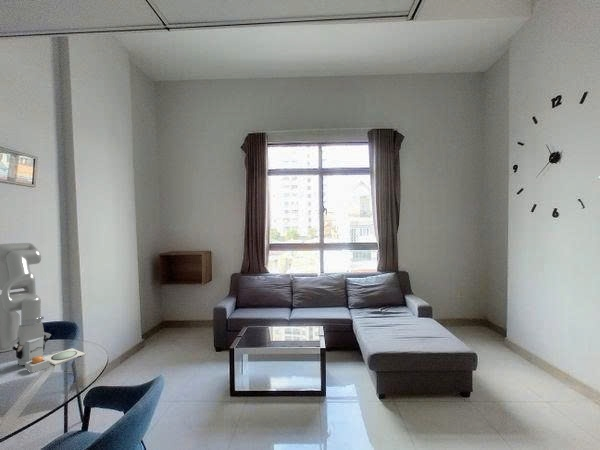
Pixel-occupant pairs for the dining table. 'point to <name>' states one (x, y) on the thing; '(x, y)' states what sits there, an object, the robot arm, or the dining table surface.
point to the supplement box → (31, 350)
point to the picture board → (64, 356)
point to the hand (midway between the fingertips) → (30, 354)
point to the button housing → (37, 365)
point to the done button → (37, 359)
